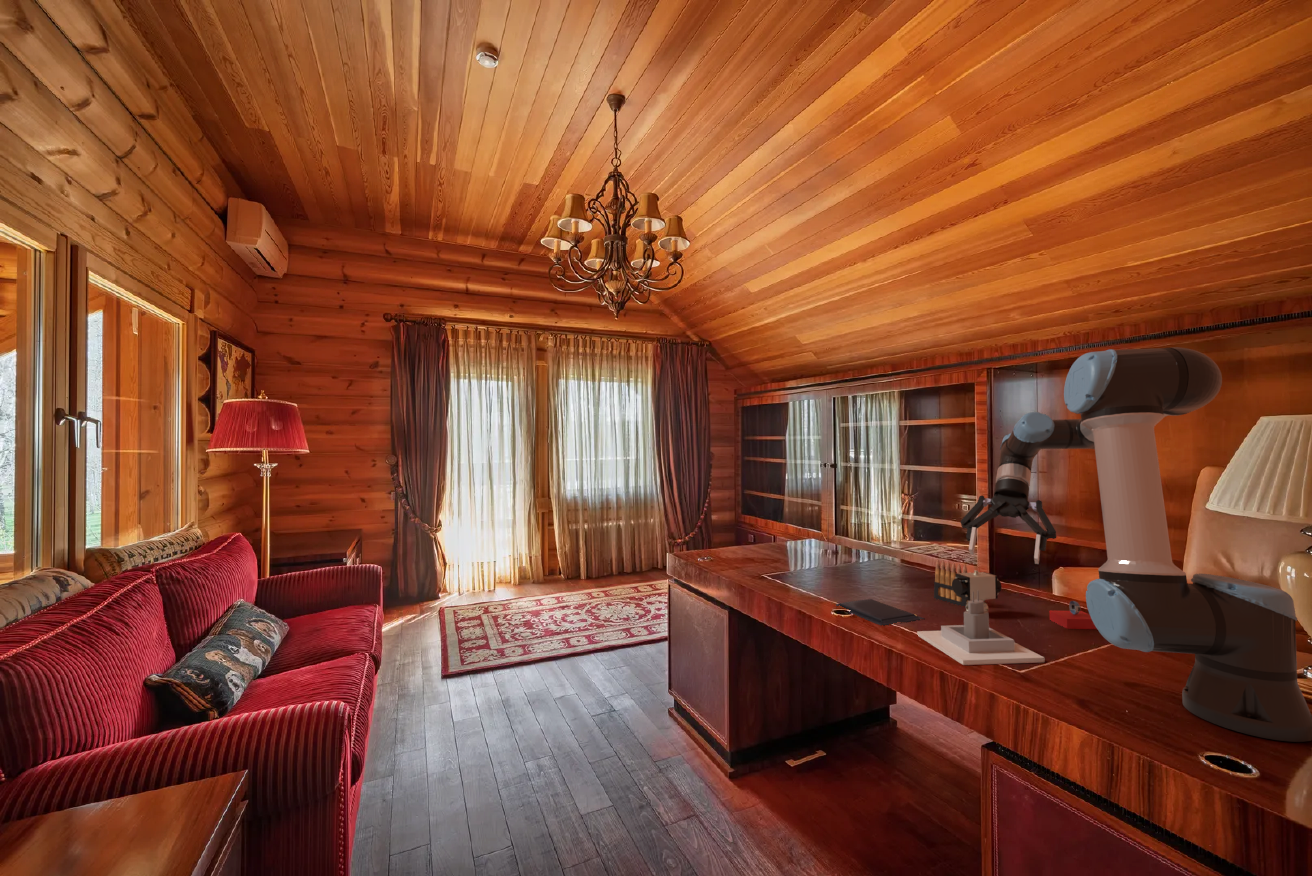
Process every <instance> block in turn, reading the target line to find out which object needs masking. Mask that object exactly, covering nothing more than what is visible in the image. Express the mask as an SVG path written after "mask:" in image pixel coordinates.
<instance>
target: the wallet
mask: <svg viewBox="0 0 1312 876" xmlns="http://www.w3.org/2000/svg"><path fill="white" fill-rule="evenodd" d="M835 605H836V606H839V605H840V606H842V607H844V608H846V609H849V610H851V611H850V613H849V611H848V612H847V613H849V614H851V613H852V614H851V615H854V614H855V615H854V616H856V615H857V617H859V618H861V619H863V618H864V620H866V621H868V622H871V623H874V624H875V625H878V626H882V625H883V626H885V625H888V626H890V625H889V624H893V623H897V622H906V623H910V622H911V621H912V622H917V621H916V620H918V621H921V620H920V619H924V620H925V618H924V617H921V616H920V615H917V614H915V613H912V612H909V611H906V610H903V609H900V608H898V607H895V606H893V605H889V604H886V603H884V602H881V601H877V600H875V599H872V598H867V599H860V600H851V601H845V602H840V603H836V604H835ZM912 622H911V623H912ZM885 627H886V626H885Z"/></svg>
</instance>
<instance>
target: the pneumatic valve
mask: <svg viewBox="0 0 1312 876" xmlns="http://www.w3.org/2000/svg"><path fill="white" fill-rule="evenodd" d="M952 589H953V591H954V592H955V594H956V596H958V597H961V598H964V599H966V600H970V601H971V600H973V592H974V600H978V599H977V595H978V594H977V591H979V600H982V601H984V611H987V612H989V606H988V603H986V602H985V601H986V600H994V599H995V600H996V599H997V600H998V599H999V598H998V595H999V593H1000V592H1001V591H1002V583H1001V581H1000V580H999V578H998V575H995V574H992V573H989V572H986V571H981V572H980V571H978V570H976V569H975V570H973V572H971V571H970V572H967V573H963V572H962V573H957V572H956V577H955V579H954V580H953V581H952ZM966 603H967V605H966V607H965V611H968V601H967V602H966Z"/></svg>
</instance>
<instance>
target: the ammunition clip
mask: <svg viewBox="0 0 1312 876" xmlns="http://www.w3.org/2000/svg"><path fill="white" fill-rule="evenodd" d="M954 562H955V561H954ZM954 562H952V564H950V561H948V560H947V562H946V564H945V561H944V560H943V559H942V560H941V563H940V560H939V559H936V562H935V572H934V575H935V576H934V577H935V578H934V582H933V583H934V584H933V585H934V587H933V589H934V590H933V598H936V599H935V600H938V599H939V601H941V600H942V602H945V601H947V602H946V603H948V602H950V603H949V604H952V603H953V605H955V604H956V606H959V605H961V606H960V607H962V606H965V607H964V608H966V605H967V603H966V602H967V601H971V600H966V599H964V598H961V597H958V596H956V594H955V592H954V591H953V589H952V581H953V580H954V579H955V577H956V573H968V568H967V566H966V564H964V565H963V567H962V566H961V563H958V564H957V567H956V564H955V563H954Z"/></svg>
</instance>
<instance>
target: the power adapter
mask: <svg viewBox="0 0 1312 876" xmlns="http://www.w3.org/2000/svg"><path fill="white" fill-rule="evenodd" d="M977 594H978V595H977V599H978V600H974V592H973V600H970V601H968V611H966V610H965V611H963V625H964V636H966V637H967V638H969V639H989V628H990V624H989V623H990V616H989V614H990V613H989V611H984V603H985V601H983V600H979V591H977Z"/></svg>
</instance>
